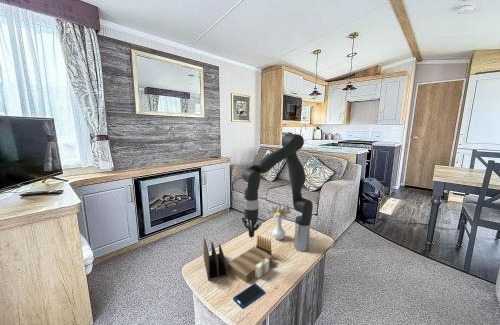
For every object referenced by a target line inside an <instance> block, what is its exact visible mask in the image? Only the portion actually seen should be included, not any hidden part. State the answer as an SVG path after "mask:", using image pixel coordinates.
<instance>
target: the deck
mask: <svg viewBox="0 0 500 325" xmlns="http://www.w3.org/2000/svg"><path fill="white" fill-rule="evenodd" d="M265 258H266V259H268V260H269V264H270V263H272V264H273V255H272V256H271V255H269V254H268V253H266V252H264V251H262V250H260V249H258V248H256V246H253V247H251V248H250V249H248V250H246V251H245V252H243V253H242V254H240V255H238V256H236V257H235V258H234V259H232V260H230V261H229V262H226V264H227V271H228V272H230V273H231V274H233V275H235V276H236V277H237V278H239V279H240V280H242V281H243V282H244V283H247V282H248V281H250V280H251V279H252V278H254V277H255V266H256V265H257V264H258V263H260V262H261V261H262V260H264V259H265Z"/></svg>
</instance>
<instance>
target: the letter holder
mask: <svg viewBox="0 0 500 325" xmlns="http://www.w3.org/2000/svg"><path fill="white" fill-rule="evenodd" d="M210 245H211V246H210V247H211V248H210V249H211V254H210V253H209V247H208V244H207V241H206V239H205V238H203V261H204V266H205V272H206V276H207V280H208V281H214V280H218V279H222V278H226V277H228V270H227V259H226V257H225V255H224V252H223V248H222V246H221V244H218V253H217V252H216V251H217V250H216V247H215V245H214V243H213V241H211V242H210Z"/></svg>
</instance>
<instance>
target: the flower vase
mask: <svg viewBox="0 0 500 325" xmlns="http://www.w3.org/2000/svg"><path fill="white" fill-rule="evenodd" d="M285 204H286V207H285ZM271 209H272V210H269V209H267V207H265V209H264V211H265V212H266V213H267V214H266V216H267V217H268V218H270V215H272V218H276V226H275V228H274V229H273V230H272V232H271V234H272V236H273V237H274V239H275V240H277V241H281V240H283V239H284V238H285V237H286V230H284V228H283V226H282V218H284V219H285V220H286V219H287V218H288V217H287V215H288V214H290V215H291V214H292V211H291V206H289V204H288V203H285V202H284V203H280V202H277V204H275V206H273V205H272V206H271Z"/></svg>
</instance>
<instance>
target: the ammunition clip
mask: <svg viewBox="0 0 500 325" xmlns="http://www.w3.org/2000/svg"><path fill="white" fill-rule="evenodd" d="M255 247H256V248H258V249H260V250H262V251H264V252H266V253H268V254H269V255H271V256H272V257H273V255H272V254H273V253H272V252H273V251H272V240H271V239H269V238H266V237H264V236H261V235H260V236H259V234H257V239H256V246H255Z"/></svg>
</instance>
